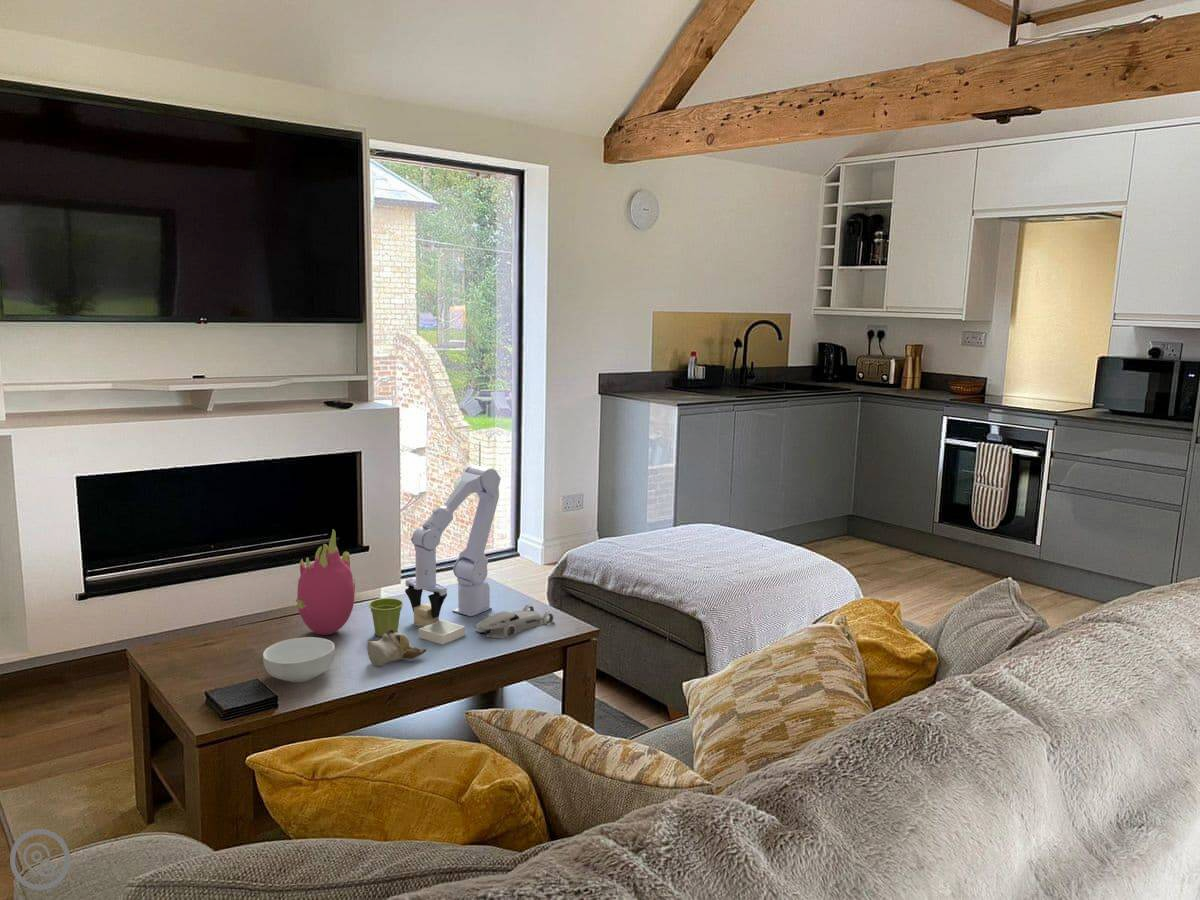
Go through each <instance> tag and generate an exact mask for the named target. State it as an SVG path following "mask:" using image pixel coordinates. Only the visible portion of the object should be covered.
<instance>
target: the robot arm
mask: <svg viewBox="0 0 1200 900" xmlns="http://www.w3.org/2000/svg"><path fill="white" fill-rule="evenodd" d="M501 481H502V480H501V477H500V475H499V473H498V472H497V470H496V469H495V468H490V467H489V468H488V467H484V466H479V465H477V464H470V465H469V466H467V467H466V469H465V470H464V471H463V473H461V475H460V480H459V482H458V484H457V485H456V487H455V488H454V489H453V491H452V492H451V494H450V495H449V497H448V498H447V500H446V501H445V503H444V505H442V506H441V505H440V506H437V507H436V508H434V509H433V510H432V513H431V514H430V516H429V517H428V518H427V520H426V521H425V522H423V524H422V526H420V527H418V528H416V529H415V530H414V532H413V533H412V536H411V537H410V541H411V543H412V544H413V547H414V551H415V578H408V579H405V587H407V588H405V590H404V592H405V594H406V595H407V597H408V599H409V602H410V605H411V609H412V613H414V607H416V606H419V605H422V595H423V591H427V592H429V593H433V594H428V596H427V597H428V600H429V601H430V602H429V604H431V611H432V618H436V617H439V618H440V614H441V609H442V606H443V603H444V601H445V599H446V597H447V596H448V592H447V591H448V589H447V587H446V586H443V585H441V584H439V583H438V582H437V565H436V564H437V559H436V558H437V549H436V548H437V547H438V546H439V545H440V543H441V537H442V535H443V533H444V531H445V530H446V529H447V528H448V526H449V525H450V523H452V521H453V520H454V512H455V511H456V510H457V509H458V507H460V505H462V503H464V501H465V500H466V499H467V498H468V497H469V496H470V495H471V494H474V493H476V495H477V496H478V498H479V500H478V504H477V508H476V511H475V515H474V519H473V521H472V526H471V529H470V533H469V536H468V541H467V545H466V548H464V549H463V550H462V551H461V552H460V553H459V555H458V558H457V560H456V561H455V563H454V564H453V568H452V570H453V575H454V576H455V577H456V581H457V584H458V585H457V587H458V588H457V589H458V591H457V593H458V594H457V596H458V600H457V601H458V602H457V603H458V604H457V605H458V607H455V608H453V609H452V610H451V611H452V612H454V613H457V614H462V615H464V616H469V617H474V616H476V615H478V614H481V613H484V612H486V611H489V610H491V609H492V608H493V607H492V606H490V605H491V604H490V603H491V602H490V597H491V596H490V595H491V593H490V592H491V590H490V589H491V588H490V584H489V582H488V581H487V580H486V579H487V576H488V564H489V560H488V558H487V556H486V554H485V550H486V548H487V543H488V539H489V535H490V531H491V528H492V526H493V525H492V524H493V521H494V516H495V513H496V510H497V505H498V503H499V498H500V490H499V487H500V483H501Z"/></svg>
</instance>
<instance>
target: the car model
mask: <svg viewBox="0 0 1200 900" xmlns="http://www.w3.org/2000/svg"><path fill="white" fill-rule="evenodd" d="M528 609H530V610H528ZM548 616H549V618H547V617H548ZM554 619H555V618H554V614H553V613H552V612H551V611H546V612H544V613H543V615H541V614H540V613H539V612H537V611H535V608H534V606H533V605H532V604H526V605H524V607H523V609H522V610H518V611H517V610H516V611H510V612H509V611H505V610H504V611H499V612H496V613H494V614H492V615H491V614H487V615H485V616H483V617H482V620H481V621H478V622H477V623H476V624H475V627H477V628H476V631H477V633H479V634H487V635H486V637H488V638H492V639H503V637H504V638H510V637H513V636H515V635H517V634H518V633H520V632H524V631H526V630H529V629H531V628H534V627H538V626H543V625H548V624H552V623H553V622H554Z"/></svg>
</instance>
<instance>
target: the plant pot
mask: <svg viewBox="0 0 1200 900" xmlns="http://www.w3.org/2000/svg"><path fill="white" fill-rule="evenodd" d="M403 605H404V601H403V600H401V599H398V598H391V597H387V598H386V597H385V598H383V597H382V598H378V599H374V600H372V601H370V602H369V603H368V607H369V608H370V612H371V614H372V621H373V627H374V634H375V635H376V636H378V637H382V636H383V635H384V633H386V632H388V631H389V630H393V631H394V632H398V631H399V624H400V623H399V622H400V618H401V617H400V615H401V611H402V607H403Z"/></svg>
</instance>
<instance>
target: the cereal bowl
mask: <svg viewBox="0 0 1200 900" xmlns="http://www.w3.org/2000/svg"><path fill="white" fill-rule="evenodd" d="M335 651H336V650H335V643H334V642H333V641H331V640H329V639H327V638H323V637H314V636H307V637H295V638H289V639H285V640H282V641H278V642H276V643H274V644H271V645H270V646H268V647H266V648H265V650H264V651H263V653H262V661H263V665H264V669H265V670H266V672H267V673H268V674H269V675H270V676H271V677H273V678H275V679H279V680H281V681H282V680H283V681H286V682H288V681H289V683H302V682H308V681H311V680H314V678H316V677H317V676H318V675H321V674H323V673H324V672H326V671H327V670H329V668H330V667H331V666H332V664H333V662H334V659H335V654H336V653H335Z"/></svg>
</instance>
